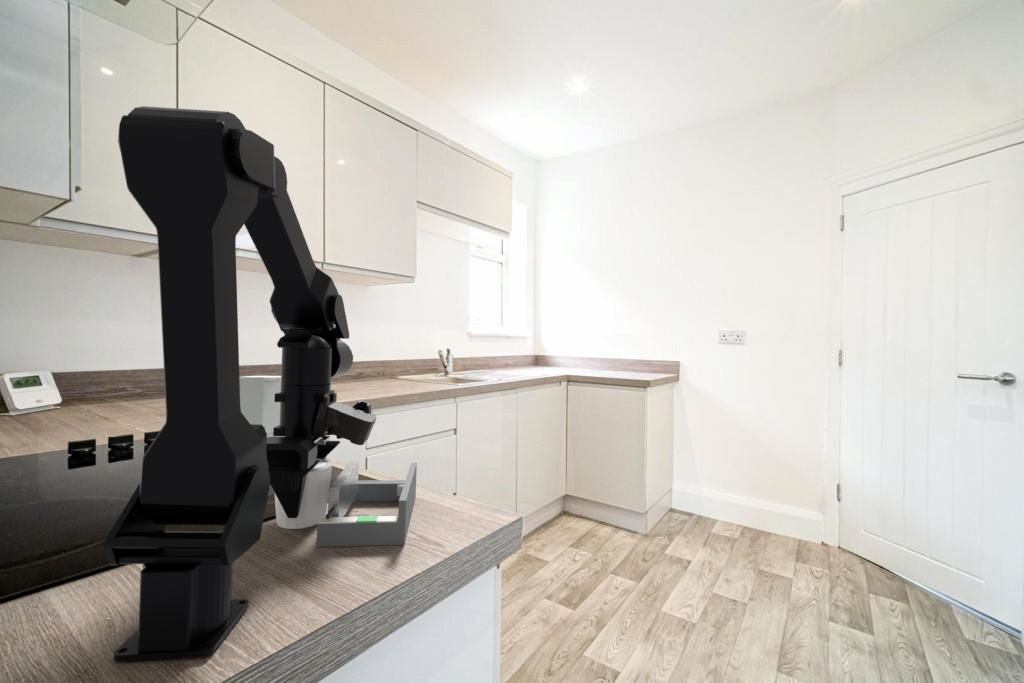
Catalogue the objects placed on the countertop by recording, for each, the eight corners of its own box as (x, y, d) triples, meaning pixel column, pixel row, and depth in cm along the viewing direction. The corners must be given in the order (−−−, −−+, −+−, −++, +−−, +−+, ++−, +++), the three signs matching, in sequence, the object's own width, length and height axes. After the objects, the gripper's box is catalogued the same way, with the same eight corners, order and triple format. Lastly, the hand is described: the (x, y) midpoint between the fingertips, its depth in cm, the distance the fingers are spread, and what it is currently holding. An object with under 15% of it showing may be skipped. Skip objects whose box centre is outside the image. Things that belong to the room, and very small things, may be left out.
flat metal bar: (332, 534, 50) (334, 494, 50) (321, 534, 50) (322, 494, 50) (357, 493, 63) (358, 461, 63) (348, 493, 63) (350, 461, 63)
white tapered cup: (308, 534, 53) (310, 474, 53) (257, 527, 54) (259, 469, 54) (341, 512, 60) (343, 459, 60) (295, 507, 61) (297, 455, 61)
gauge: (404, 544, 51) (406, 500, 51) (316, 546, 50) (318, 501, 50) (415, 497, 66) (416, 463, 66) (348, 497, 65) (349, 463, 65)
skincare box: (260, 455, 87) (263, 377, 87) (231, 453, 87) (234, 376, 87) (286, 445, 95) (289, 374, 95) (259, 443, 96) (262, 373, 96)
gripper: (357, 393, 49) (352, 538, 49) (383, 379, 67) (379, 483, 67) (247, 391, 47) (241, 540, 47) (304, 377, 66) (300, 484, 66)
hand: (302, 507), depth 57 cm, fingers closed on white tapered cup, 6 cm apart
